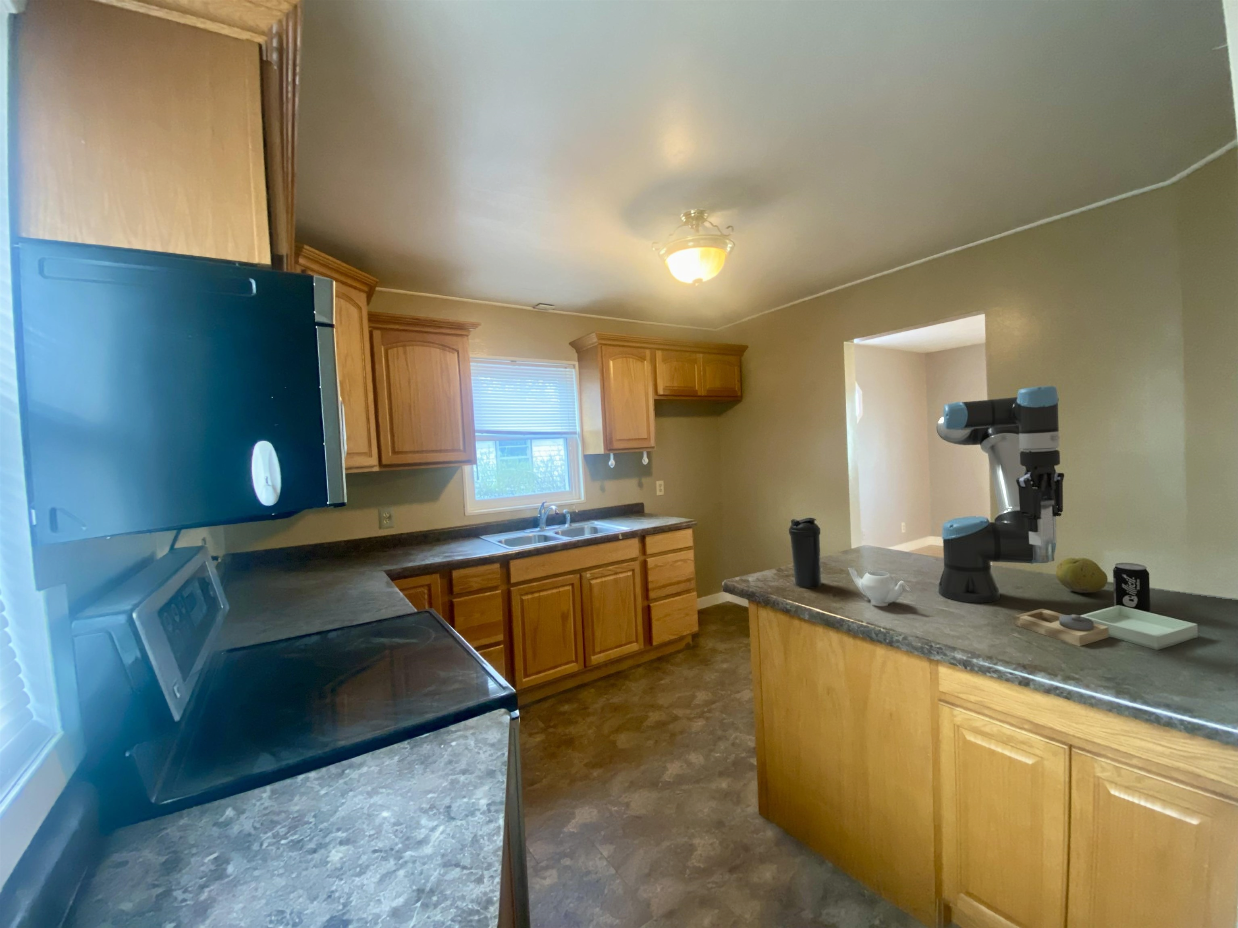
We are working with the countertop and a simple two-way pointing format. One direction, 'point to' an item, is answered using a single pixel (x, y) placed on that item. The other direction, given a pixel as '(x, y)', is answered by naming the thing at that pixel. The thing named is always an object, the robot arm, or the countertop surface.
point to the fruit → (1081, 575)
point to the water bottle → (806, 552)
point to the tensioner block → (1062, 626)
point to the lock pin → (1045, 533)
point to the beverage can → (1131, 586)
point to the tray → (1143, 627)
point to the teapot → (878, 586)
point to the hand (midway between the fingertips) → (1042, 542)
